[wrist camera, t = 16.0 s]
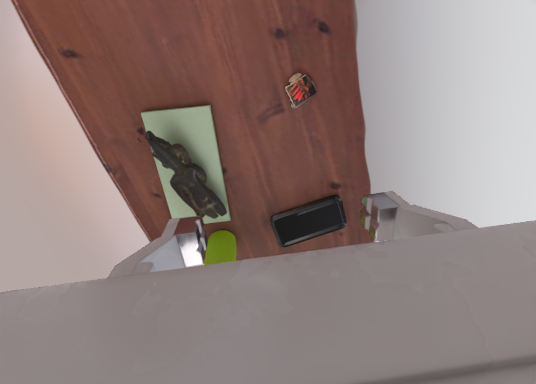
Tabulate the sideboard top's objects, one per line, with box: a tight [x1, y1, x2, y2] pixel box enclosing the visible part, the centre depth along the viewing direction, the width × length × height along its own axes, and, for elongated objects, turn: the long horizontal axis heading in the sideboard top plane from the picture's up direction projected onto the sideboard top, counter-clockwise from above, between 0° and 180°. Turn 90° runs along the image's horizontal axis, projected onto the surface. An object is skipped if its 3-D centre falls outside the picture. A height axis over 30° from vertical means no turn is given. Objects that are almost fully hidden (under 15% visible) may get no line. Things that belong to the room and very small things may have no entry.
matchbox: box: [285, 72, 317, 109], centre depth 42 cm, size 5×5×1 cm
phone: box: [271, 196, 347, 247], centre depth 53 cm, size 8×1×15 cm
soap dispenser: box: [204, 230, 236, 265], centre depth 46 cm, size 6×7×20 cm
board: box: [141, 105, 231, 224], centre depth 46 cm, size 22×11×1 cm, turn 5°
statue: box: [145, 131, 227, 219], centre depth 44 cm, size 6×6×20 cm
